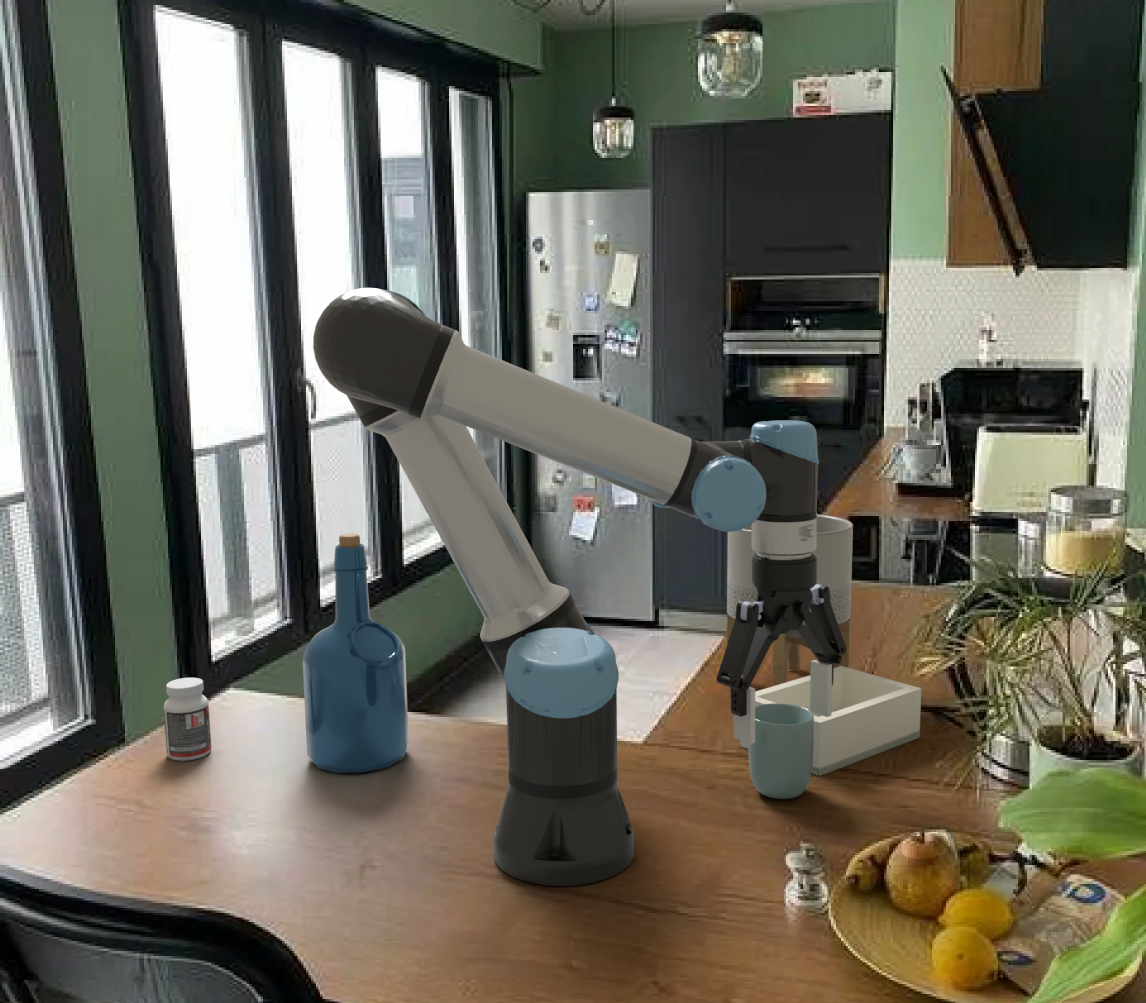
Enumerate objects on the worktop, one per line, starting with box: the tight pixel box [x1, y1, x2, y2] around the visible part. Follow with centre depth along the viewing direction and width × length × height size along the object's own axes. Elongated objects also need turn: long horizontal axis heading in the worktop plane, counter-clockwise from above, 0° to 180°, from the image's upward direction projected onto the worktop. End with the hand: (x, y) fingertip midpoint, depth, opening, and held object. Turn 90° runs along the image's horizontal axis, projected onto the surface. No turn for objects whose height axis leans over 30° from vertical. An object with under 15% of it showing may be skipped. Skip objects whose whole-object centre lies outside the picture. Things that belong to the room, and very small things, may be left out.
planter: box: [726, 513, 854, 687], centre depth 176 cm, size 19×19×26 cm
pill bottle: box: [163, 677, 212, 762], centre depth 151 cm, size 6×6×10 cm
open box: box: [739, 666, 922, 777], centre depth 153 cm, size 21×14×7 cm, turn 128°
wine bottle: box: [302, 533, 409, 774], centre depth 148 cm, size 14×13×30 cm
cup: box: [747, 703, 814, 800], centre depth 137 cm, size 8×8×10 cm
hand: (783, 727), depth 136 cm, fingers open, 13 cm apart
